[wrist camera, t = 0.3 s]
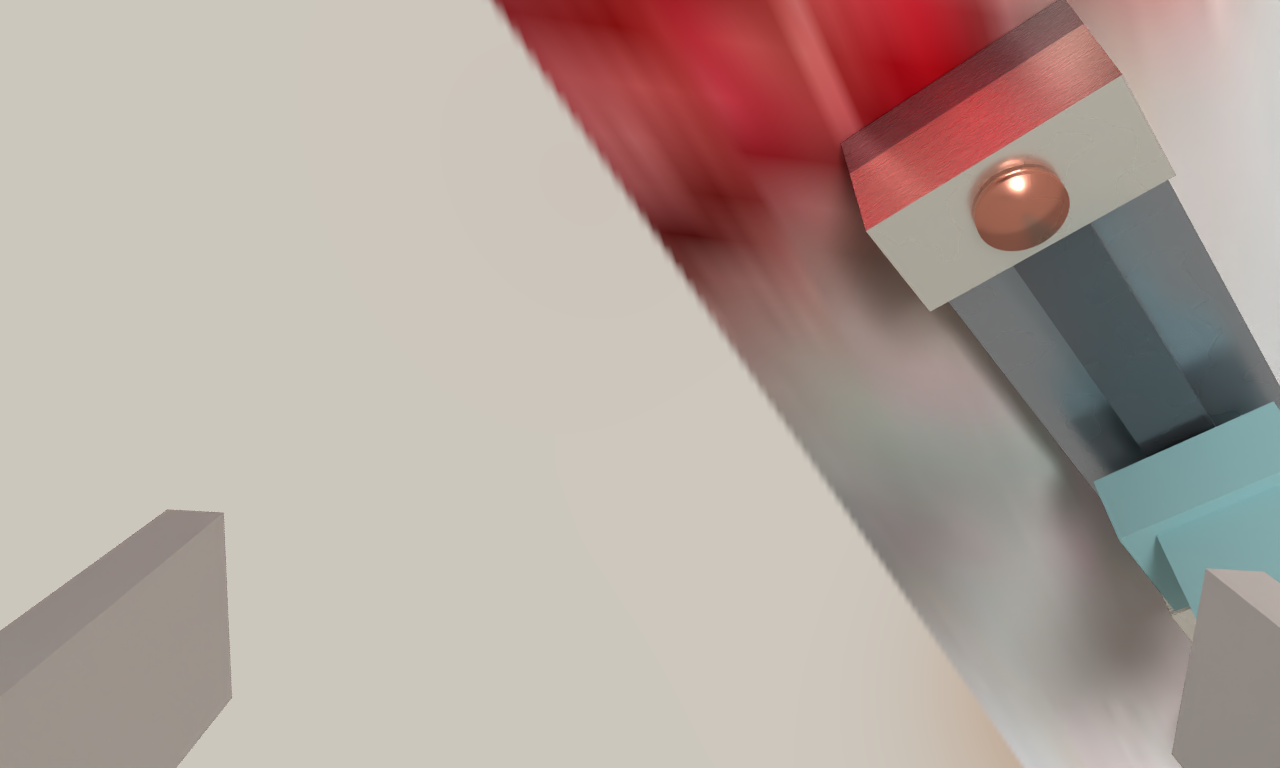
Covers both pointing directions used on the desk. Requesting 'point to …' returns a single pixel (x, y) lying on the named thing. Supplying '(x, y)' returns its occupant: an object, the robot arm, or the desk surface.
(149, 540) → the robot arm
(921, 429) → the desk surface
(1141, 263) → the rail
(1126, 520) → the carriage
